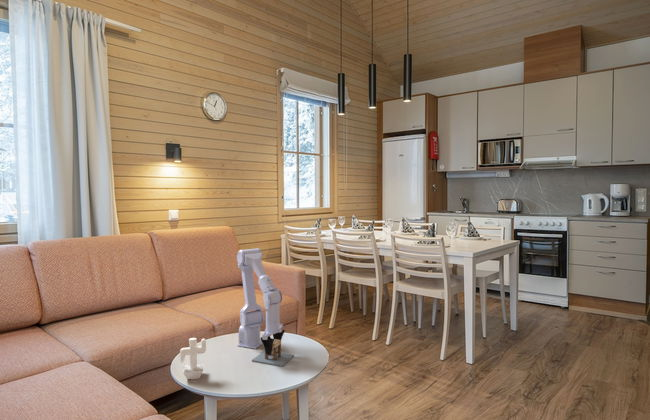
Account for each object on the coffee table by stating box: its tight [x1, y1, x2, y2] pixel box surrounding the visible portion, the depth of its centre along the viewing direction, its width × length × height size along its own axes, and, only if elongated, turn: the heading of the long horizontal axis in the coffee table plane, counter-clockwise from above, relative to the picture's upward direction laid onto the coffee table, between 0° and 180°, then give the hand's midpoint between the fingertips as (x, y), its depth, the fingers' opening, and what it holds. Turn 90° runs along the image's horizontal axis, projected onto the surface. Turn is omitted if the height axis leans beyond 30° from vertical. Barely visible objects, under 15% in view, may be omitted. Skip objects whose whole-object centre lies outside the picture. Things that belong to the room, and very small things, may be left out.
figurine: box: [179, 337, 207, 380], centre depth 160 cm, size 7×9×15 cm
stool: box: [265, 338, 282, 361], centre depth 176 cm, size 5×5×7 cm
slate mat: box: [251, 349, 295, 368], centre depth 176 cm, size 14×11×1 cm
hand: (273, 350), depth 176 cm, fingers open, 7 cm apart
